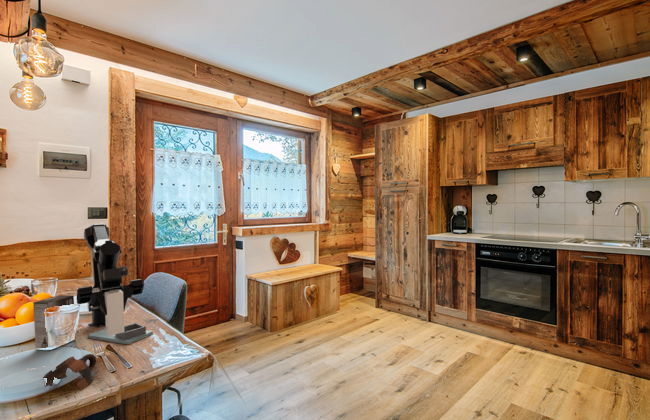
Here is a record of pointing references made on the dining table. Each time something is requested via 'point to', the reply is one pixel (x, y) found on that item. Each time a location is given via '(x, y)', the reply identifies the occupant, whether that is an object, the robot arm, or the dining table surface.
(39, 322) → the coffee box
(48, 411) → the dining table surface
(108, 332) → the block
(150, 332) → the socket plate
